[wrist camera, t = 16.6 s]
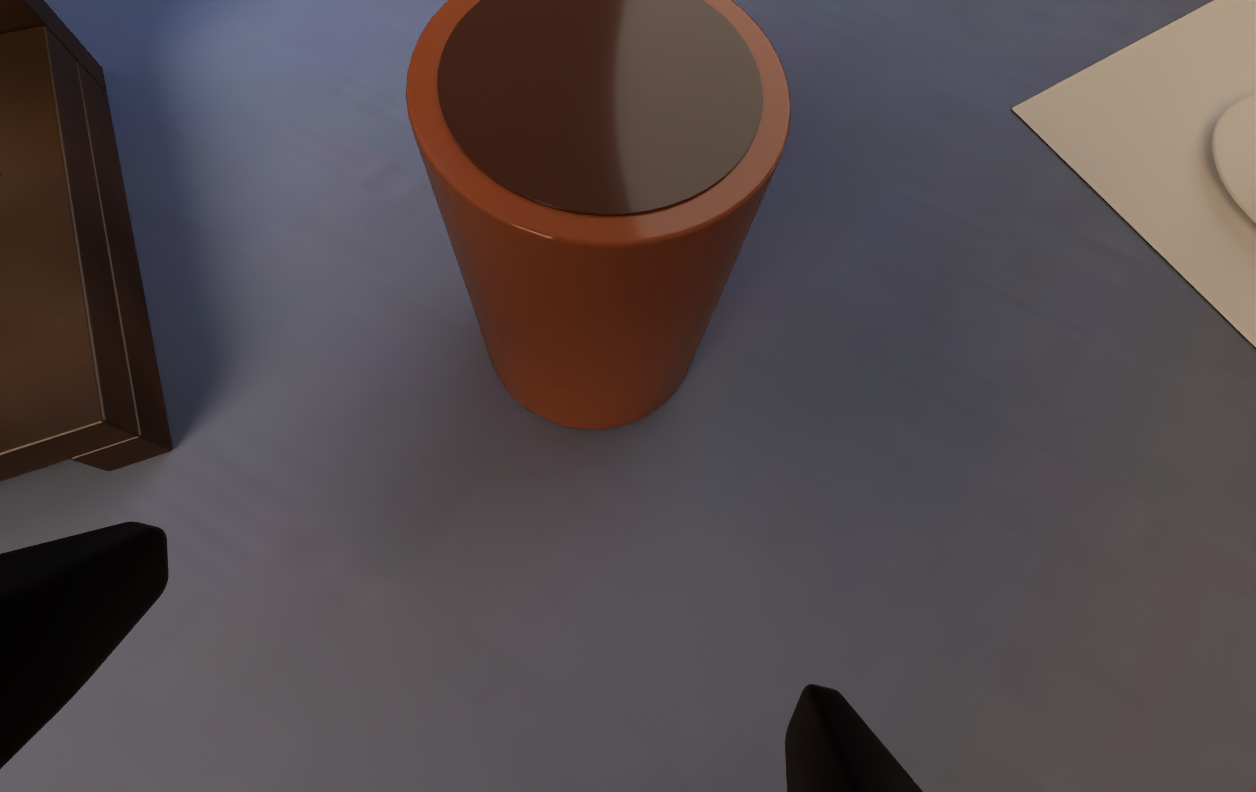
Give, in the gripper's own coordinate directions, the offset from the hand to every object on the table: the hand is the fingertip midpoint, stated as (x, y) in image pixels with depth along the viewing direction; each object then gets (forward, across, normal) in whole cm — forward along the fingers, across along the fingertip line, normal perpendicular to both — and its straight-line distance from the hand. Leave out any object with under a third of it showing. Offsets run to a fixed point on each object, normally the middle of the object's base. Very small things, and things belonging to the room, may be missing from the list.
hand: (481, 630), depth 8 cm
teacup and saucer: (+20, -27, -12) cm, 35 cm away
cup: (+11, 0, -2) cm, 11 cm away
